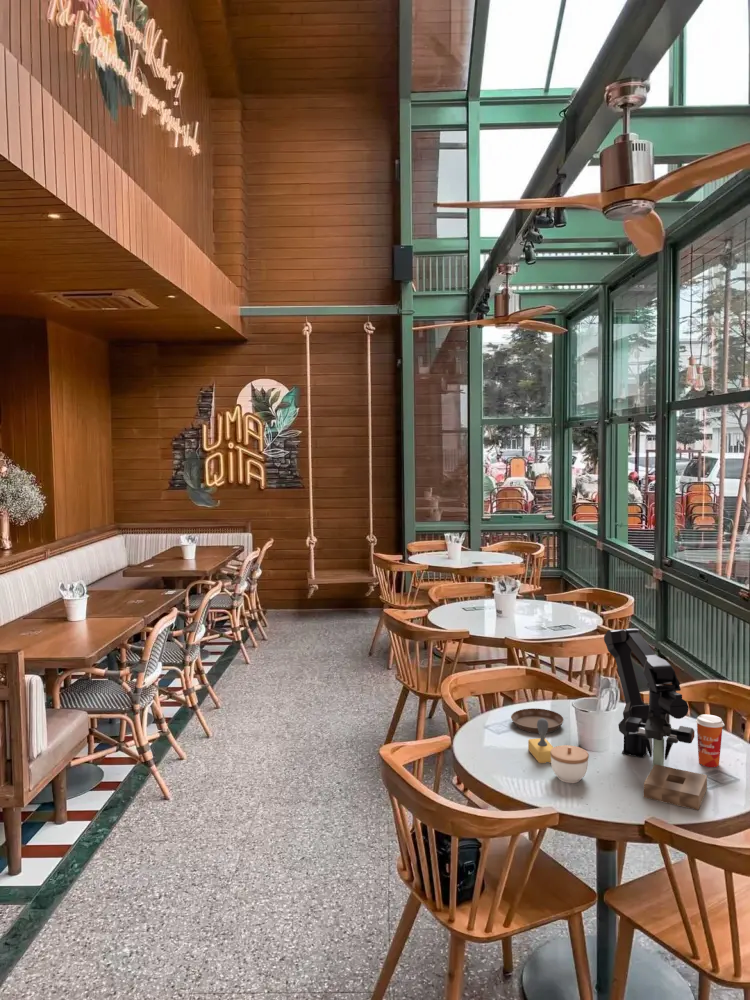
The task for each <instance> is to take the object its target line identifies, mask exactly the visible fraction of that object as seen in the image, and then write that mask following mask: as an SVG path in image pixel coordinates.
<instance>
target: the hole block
mask: <svg viewBox="0 0 750 1000" xmlns="http://www.w3.org/2000/svg"><path fill="white" fill-rule="evenodd" d="M707 790H708V775H707V774H703V773H698V772H693V771H688V770H685V769H679V768H675V767H670V766H665V765H664V766H661V765H656V764H655V765H654V766H653V765H652V768H651V770H650V772H649V774H648V775H647V777H646V779H645V780H644V782H643V798H644V799H649V800H652V801H657V802H662V803H666V804H670V805H674V806H679V807H683V808H687V809H692V810H695V811H699V810H700V808H701V805H702V802H703V800H704V797H705V795H706V792H707Z"/></svg>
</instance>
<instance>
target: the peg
mask: <svg viewBox="0 0 750 1000" xmlns="http://www.w3.org/2000/svg"><path fill="white" fill-rule="evenodd" d="M652 749H653V751H652V767H653V766H654V765H655V764H656V765H661V766H665V765H664V764H665V763H664V762H665V738H664V737H663V739H662V740H657V739H652Z"/></svg>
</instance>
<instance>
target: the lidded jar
mask: <svg viewBox="0 0 750 1000" xmlns="http://www.w3.org/2000/svg"><path fill="white" fill-rule="evenodd" d="M553 747H554V748H552V749H551V751H550V755H551V762H550V763H551V764H550V765H551V769H552V771H553V772H554V775H555V776H557V778H558V779H559V781H561V782H563V783H567V784H576V783H579V782H580V781H581V779H583V778H584V777H585V775H586V774H587V771H588V767H589V757H590V755H589V752H588V751H587V750H585V749H584V748H582V747H579V746H575V745H570V744H569V745H567V744H566V745H565V744H564V745H557V746H553Z"/></svg>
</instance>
